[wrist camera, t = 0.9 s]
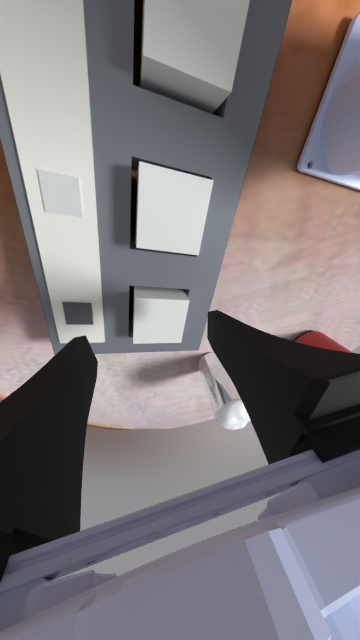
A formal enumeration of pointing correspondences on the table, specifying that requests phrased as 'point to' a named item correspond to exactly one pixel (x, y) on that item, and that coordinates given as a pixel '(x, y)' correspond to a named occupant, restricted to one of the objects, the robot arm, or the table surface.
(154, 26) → the key
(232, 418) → the milkshake
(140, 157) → the button board
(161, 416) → the table surface
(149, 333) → the key
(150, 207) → the key middle
